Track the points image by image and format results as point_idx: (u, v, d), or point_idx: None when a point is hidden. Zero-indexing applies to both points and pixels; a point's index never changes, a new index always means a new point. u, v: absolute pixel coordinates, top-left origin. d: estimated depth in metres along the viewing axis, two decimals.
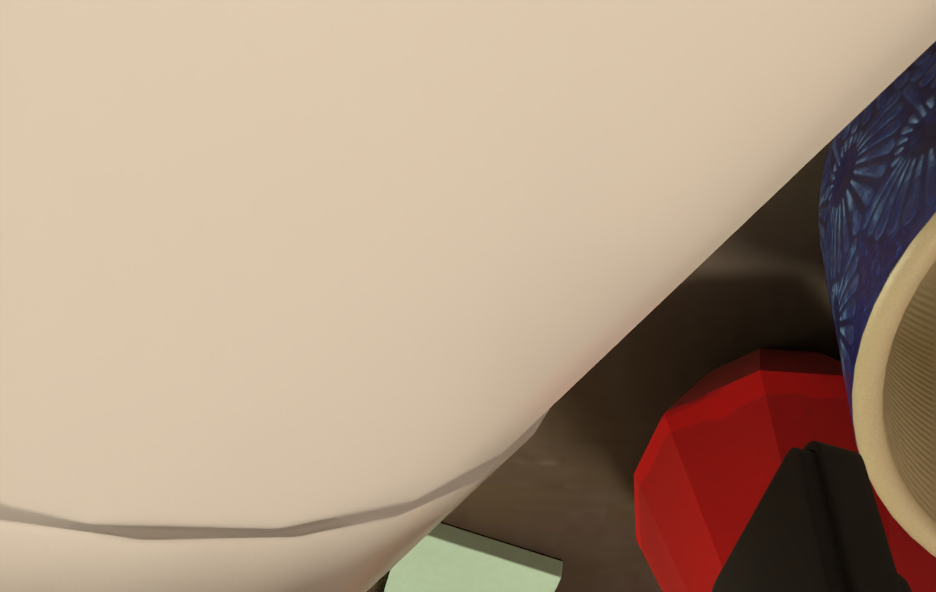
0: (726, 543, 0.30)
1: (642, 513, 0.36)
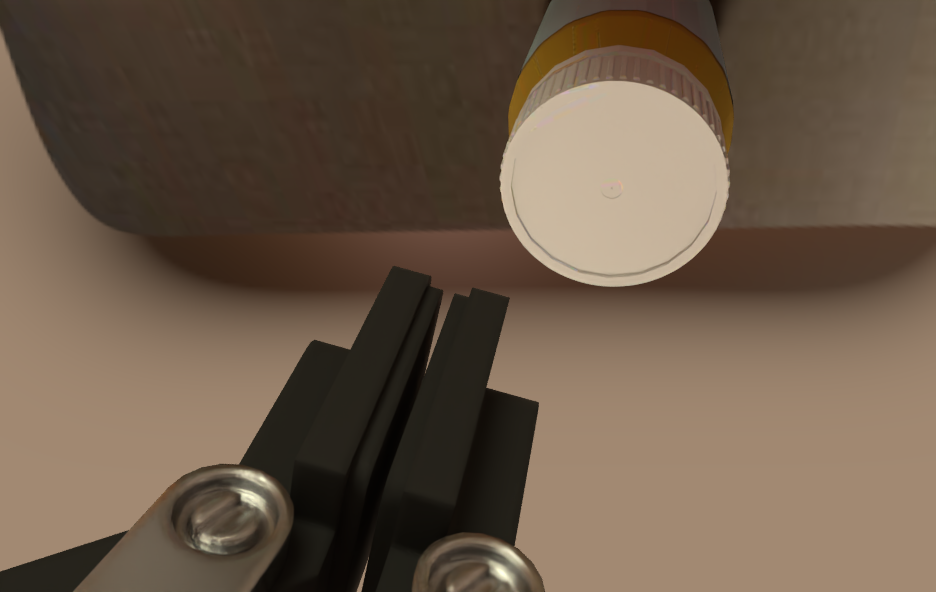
0: None
1: None
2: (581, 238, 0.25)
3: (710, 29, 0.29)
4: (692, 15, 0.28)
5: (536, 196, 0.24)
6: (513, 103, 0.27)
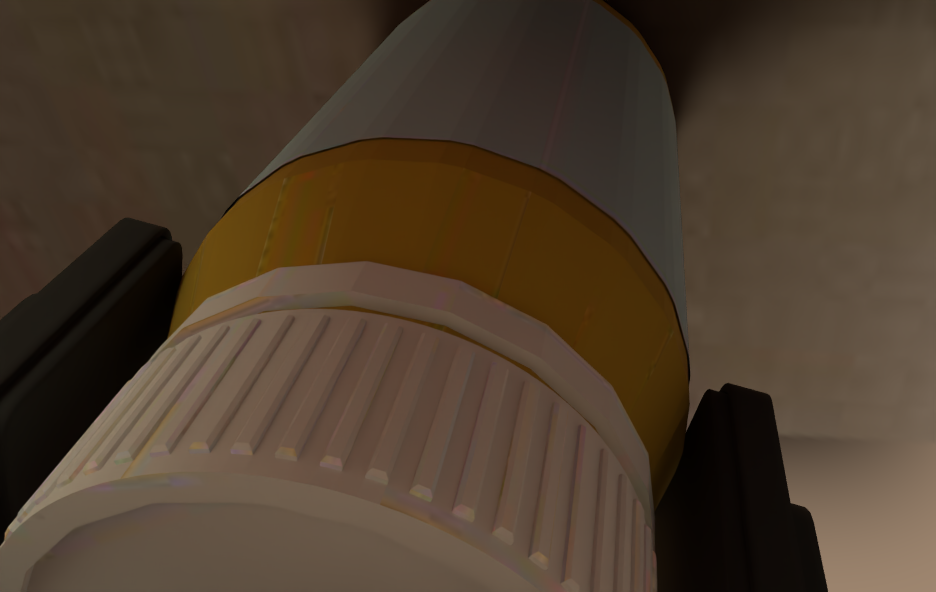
0: None
1: None
2: None
3: (649, 159, 0.13)
4: (604, 136, 0.12)
5: None
6: None
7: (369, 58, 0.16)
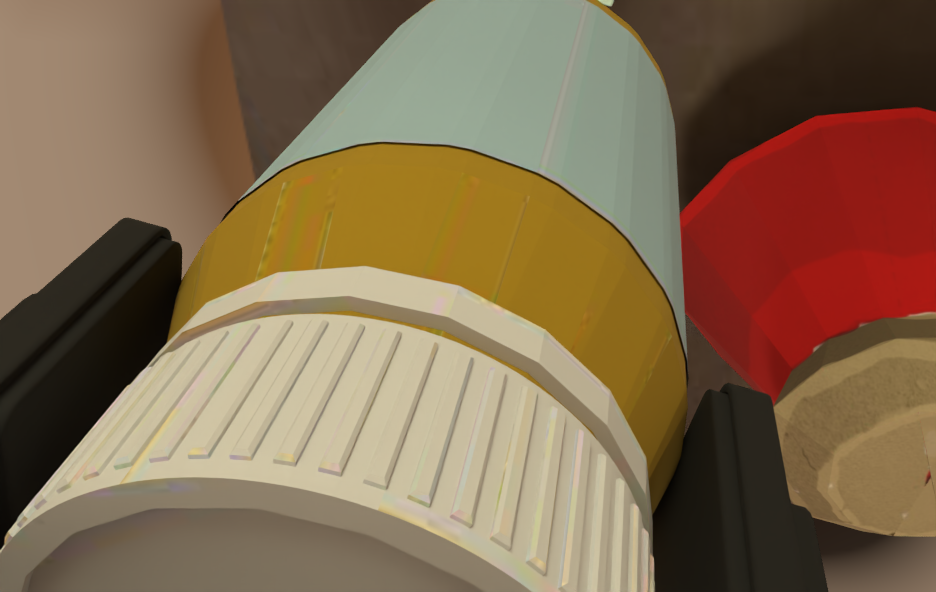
0: None
1: (886, 126, 0.35)
2: None
3: (647, 163, 0.13)
4: (603, 140, 0.12)
5: None
6: None
7: (368, 61, 0.16)
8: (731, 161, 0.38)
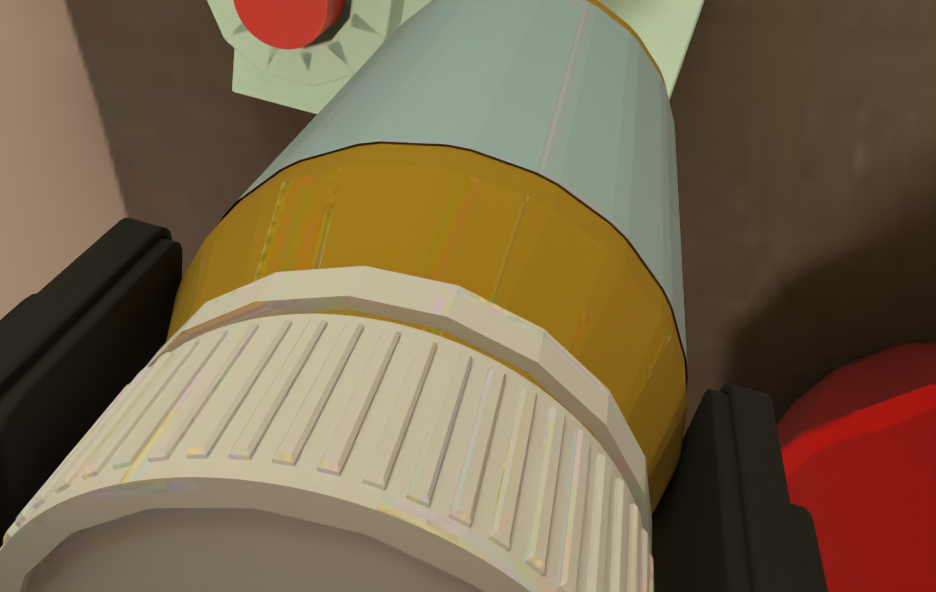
0: None
1: None
2: None
3: (647, 163, 0.13)
4: (602, 140, 0.12)
5: None
6: None
7: (368, 61, 0.16)
8: (806, 433, 0.27)
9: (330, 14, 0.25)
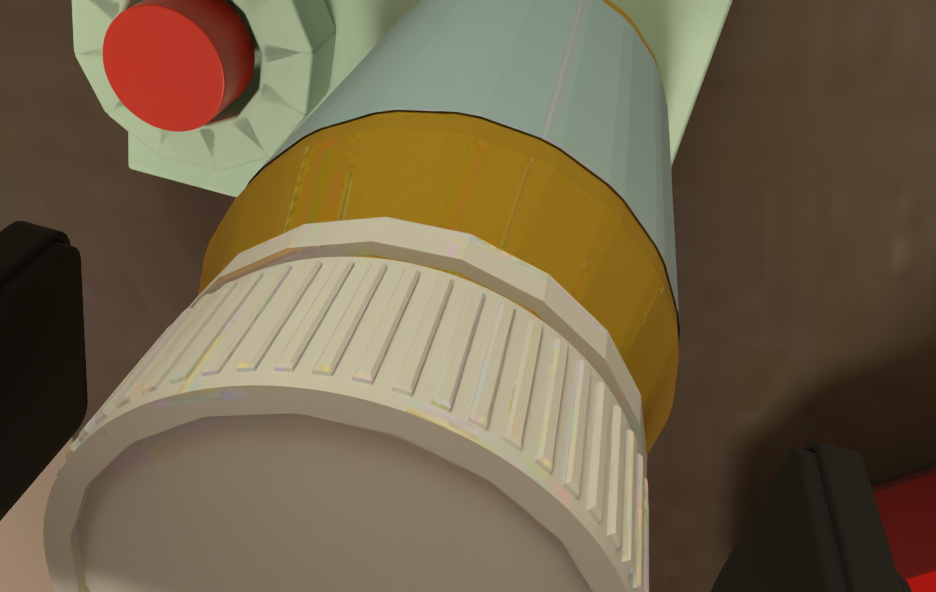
0: None
1: None
2: None
3: (641, 136, 0.14)
4: (600, 113, 0.13)
5: None
6: None
7: (377, 44, 0.17)
8: None
9: (230, 88, 0.19)
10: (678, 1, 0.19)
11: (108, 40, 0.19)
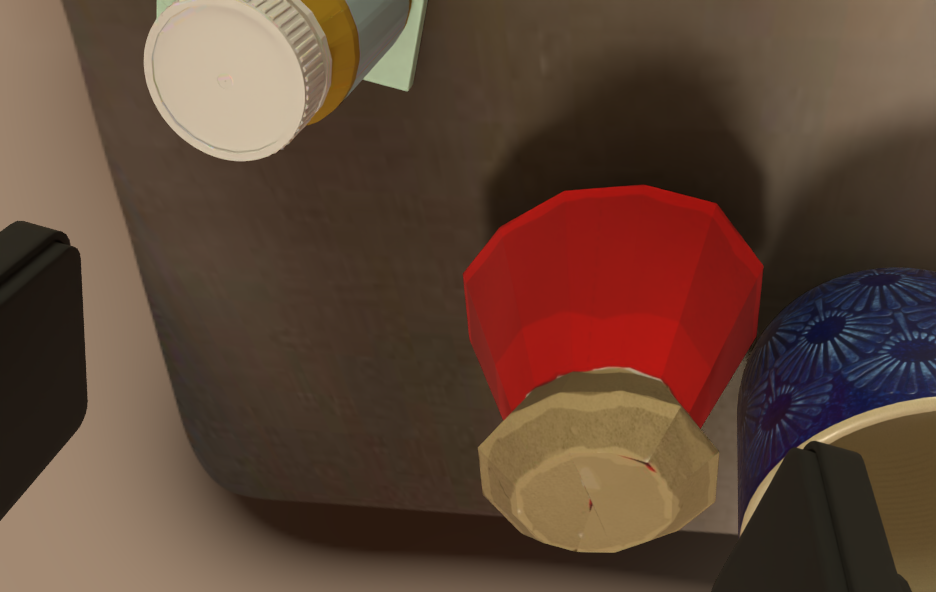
0: (693, 302, 0.38)
1: (616, 201, 0.41)
2: (211, 122, 0.32)
3: None
4: None
5: (173, 87, 0.32)
6: None
7: None
8: (500, 227, 0.44)
9: None
10: None
11: None
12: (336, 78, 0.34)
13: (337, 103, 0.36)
